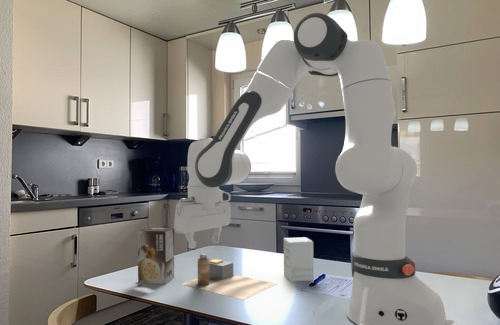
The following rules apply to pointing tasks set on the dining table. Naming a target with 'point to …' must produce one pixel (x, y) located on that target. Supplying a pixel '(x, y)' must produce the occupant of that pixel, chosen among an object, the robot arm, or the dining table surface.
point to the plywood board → (232, 286)
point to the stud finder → (220, 269)
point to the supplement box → (298, 259)
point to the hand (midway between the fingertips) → (204, 245)
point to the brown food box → (156, 255)
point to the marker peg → (203, 270)
